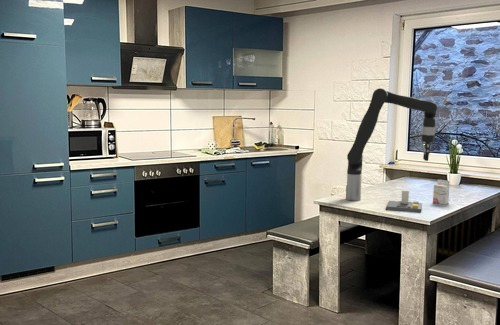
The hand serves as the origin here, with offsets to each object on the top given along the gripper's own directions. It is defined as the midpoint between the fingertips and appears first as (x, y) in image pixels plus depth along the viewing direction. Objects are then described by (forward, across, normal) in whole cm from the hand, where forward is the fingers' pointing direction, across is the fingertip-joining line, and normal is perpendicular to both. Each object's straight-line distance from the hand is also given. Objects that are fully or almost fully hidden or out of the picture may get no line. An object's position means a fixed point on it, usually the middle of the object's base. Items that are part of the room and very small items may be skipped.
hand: (425, 160), depth 314 cm
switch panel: (+29, +13, -11) cm, 34 cm away
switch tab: (+27, +8, -10) cm, 30 cm away
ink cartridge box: (+28, -9, +12) cm, 32 cm away
